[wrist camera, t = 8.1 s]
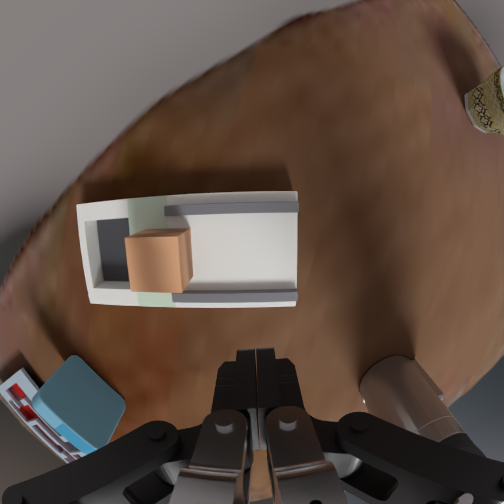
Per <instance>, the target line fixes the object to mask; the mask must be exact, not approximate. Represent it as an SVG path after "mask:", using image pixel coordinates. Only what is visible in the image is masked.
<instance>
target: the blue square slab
mask: <svg viewBox="0 0 504 504" xmlns="http://www.w3.org/2000/svg"><path fill="white" fill-rule="evenodd" d="M32 406H33V408H34V409H35V411H36V412H37V413H38V414H39V415H40V416H41V417H42V418H43V419H44V420H45V421H46V422H47V423H48V424H50V425H51V426H52V427H53V428H54V429H55V430H56V431H57V432H58V433H59V434H61V435H62V436H63V437H64V438H65V439H66V440H68V441H69V442H70V443H71V444H72V445H74V446H75V447H76V448H77V449H79V450H80V451H81V452H83V453H84V454H89V453H91V452H93V451H95V450H97V449H99V448H101V447H103V446H105V445H107V444H108V442H109V440H110V438H111V436H112V434H113V432H114V430H115V428H116V426H117V424H118V422H119V420H120V418H121V416H122V414H123V413H124V411H125V408H126V404H125V401H124V399H123V398H122V397H121V396H120V395H119V394H118V393H117V392H115V391H114V390H113V389H112V388H111V387H110V386H109V385H108V384H107V383H106V382H105V381H103V380H102V379H101V378H100V377H99V376H98V375H97V374H96V373H95V372H94V371H93V370H92V369H91V368H90V367H89V366H88V365H87V364H86V363H85V362H84V361H83V360H82V359H81V358H80V357H79V356H76V355H71V356H70V357H69V358H68V359H67V360H66V361H65V362H64V363H63V364H62V365H61V366H60V367H59V368H58V369H57V371H56V372H55V373H54V374H53V375H52V376H51V377H50V378H49V379H48V380H47V381H46V382H45V384H44V385H43V386H42V387H41V388H40V389H39V390H38V392H37V393H36V394H35V395H34V396H33V398H32Z"/></svg>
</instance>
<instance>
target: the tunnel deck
mask: <svg viewBox="0 0 504 504" xmlns="http://www.w3.org/2000/svg"><path fill="white" fill-rule="evenodd" d="M297 213H299V202H297V191H253V192H220V193H198V194H181V195H166V196H152V197H140V198H129V199H119V200H110V201H101V202H92V203H85V204H78V205H77V217H78V228H79V238H80V246H81V253H82V260H83V267H84V273H85V279H86V284H87V289H88V294H89V299H90V303H94V304H110V305H128V306H151V307H193V308H241V307H283V306H296V301H297V300H298V291H297V289H296V283H297ZM171 228H191V246H192V263H193V277H192V279H191V280H190V282H189V283H188V285H187V286H186V288H185V289H184V291H183V292H182V293H157V292H131V287H130V280H129V273H128V265H127V256H126V246H125V238H126V237H128V236H130V235H133V234H135V233H137V232H140V231H142V230H145V229H171Z"/></svg>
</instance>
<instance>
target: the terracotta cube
mask: <svg viewBox="0 0 504 504" xmlns="http://www.w3.org/2000/svg"><path fill="white" fill-rule="evenodd" d="M125 246H126V256H127V265H128V273H129V280H130V287H131V292H157V293H182V292H183V291H184V289H185V288H186V286H187V285H188V283H189V282H190V280H191V279H192V277H193V263H192V246H191V228H171V229H145V230H142V231H140V232H137V233H135V234H133V235H130V236H128V237H126V238H125Z"/></svg>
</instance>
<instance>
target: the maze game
mask: <svg viewBox="0 0 504 504" xmlns="http://www.w3.org/2000/svg"><path fill="white" fill-rule="evenodd" d="M38 390H39V387H38V386H37V385H36V384H35V382H34V381H33V380H32V379H31V377H30V376H29V375H28V373H27V372H26V371H25V369H24V368H21V369H20V370H19V371H18V372H16V373H15V374H14V375H13V376H11V377H10V378H9V379H8V380H6V381H5V382H4V383H3V384H1V385H0V393H1V394H2V396H3V397H4V398H5V399H6V401H7V402H8V403H9V404H10V406H11V407H12V408H13V409H14V410H15V411H16V413H17V414H18V415H19V416H20V417H21V418H22V419H23V421H24V422H25V423H26V424H27V425H28V426H29V427H30V428H31V429H32V430H33V431H34V432H35V433H36V434H37V435H38V436H39V437H40V438H41V439H42V440H43V441H44V442H45V443H46V444H47V445H48V446H49V447H50V448H51V449H52V450H53V451H54V452H55V453H57V454H58V455H59V456H60V457H61V458H62V459H63V460H65V461H66V462H67V463H70V462H72V461H75V460H77V459H79V458H81V457H83V456H85V455H87V454H84V453H83V452H81V451H80V450H79V449H77V448H76V447H75V446H74V445H72V444H71V443H70V442H69V441H68V440H66V439H65V438H64V437H63V436H62V435H61V434H59V433H58V432H57V431H56V430H55V429H54V428H53V427H52V426H51V425H50V424H48V423H47V422H46V421H45V420H44V419H43V418H42V417H41V416H40V415H39V414H38V413H37V412H36V411H35V409H34V408H33V406H32V398H33V396H34V395H35V394H36V393H37V392H38Z"/></svg>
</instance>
